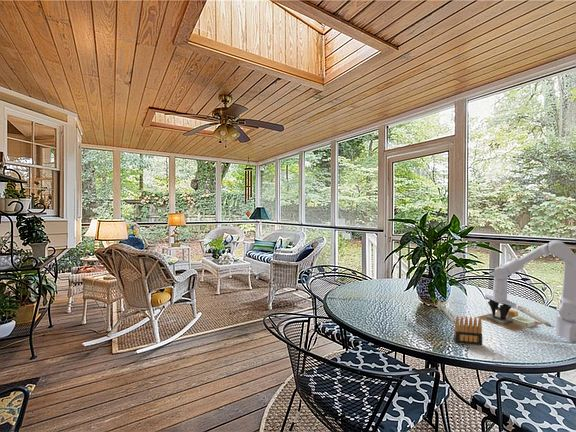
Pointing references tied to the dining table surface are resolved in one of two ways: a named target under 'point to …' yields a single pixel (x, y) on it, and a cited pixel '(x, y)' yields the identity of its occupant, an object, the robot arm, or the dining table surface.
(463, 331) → the ammunition clip
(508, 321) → the holder
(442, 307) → the caliper
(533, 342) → the dining table surface
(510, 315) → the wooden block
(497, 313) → the peg
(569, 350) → the dining table surface
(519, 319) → the tray
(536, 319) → the adjustable wrench
